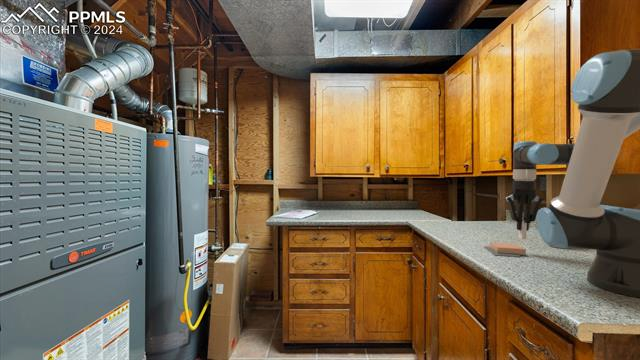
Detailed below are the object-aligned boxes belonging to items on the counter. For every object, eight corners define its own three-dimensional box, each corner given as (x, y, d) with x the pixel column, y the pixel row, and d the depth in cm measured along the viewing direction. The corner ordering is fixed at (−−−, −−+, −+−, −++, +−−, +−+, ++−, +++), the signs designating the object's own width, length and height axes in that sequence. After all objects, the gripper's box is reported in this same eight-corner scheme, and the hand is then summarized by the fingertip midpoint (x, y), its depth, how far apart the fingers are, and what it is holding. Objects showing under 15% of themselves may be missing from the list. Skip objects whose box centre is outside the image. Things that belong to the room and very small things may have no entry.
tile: (525, 249, 107) (497, 247, 109) (525, 255, 107) (497, 253, 109) (516, 243, 115) (489, 242, 117) (515, 249, 115) (489, 247, 117)
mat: (521, 257, 106) (521, 256, 105) (495, 255, 107) (495, 254, 107) (507, 248, 117) (507, 247, 117) (483, 247, 119) (483, 246, 119)
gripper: (536, 180, 112) (535, 237, 113) (501, 179, 114) (500, 235, 115) (548, 180, 105) (546, 241, 105) (510, 180, 107) (508, 239, 108)
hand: (522, 238), depth 110 cm, fingers closed
